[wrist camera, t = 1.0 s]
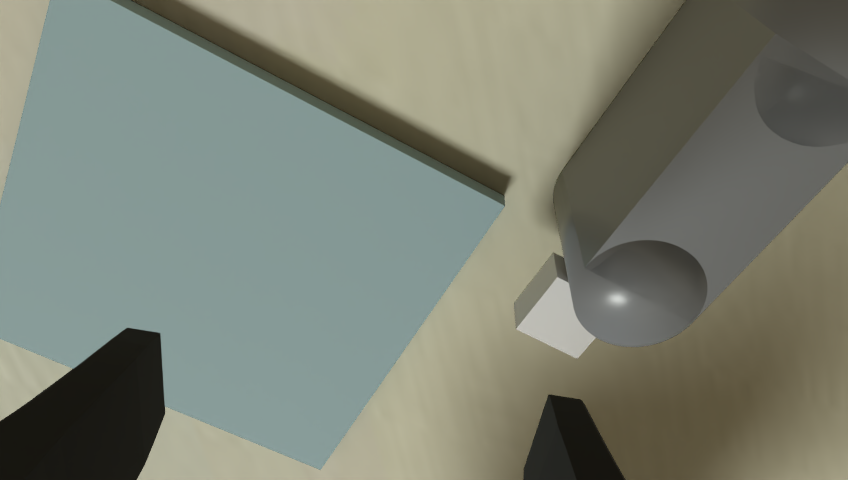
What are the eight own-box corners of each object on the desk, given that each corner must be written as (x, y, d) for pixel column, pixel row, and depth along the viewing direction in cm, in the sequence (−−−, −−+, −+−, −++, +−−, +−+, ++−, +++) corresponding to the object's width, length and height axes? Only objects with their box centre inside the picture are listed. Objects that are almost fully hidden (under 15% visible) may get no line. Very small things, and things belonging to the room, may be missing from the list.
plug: (842, -16, 17) (963, 43, 13) (578, 300, 22) (602, 415, 18) (744, -81, 17) (837, -43, 12) (497, 259, 22) (502, 368, 18)
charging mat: (503, 196, 21) (504, 205, 20) (323, 457, 27) (320, 469, 26) (68, -33, 18) (56, -28, 18) (-19, 315, 24) (-30, 326, 24)
